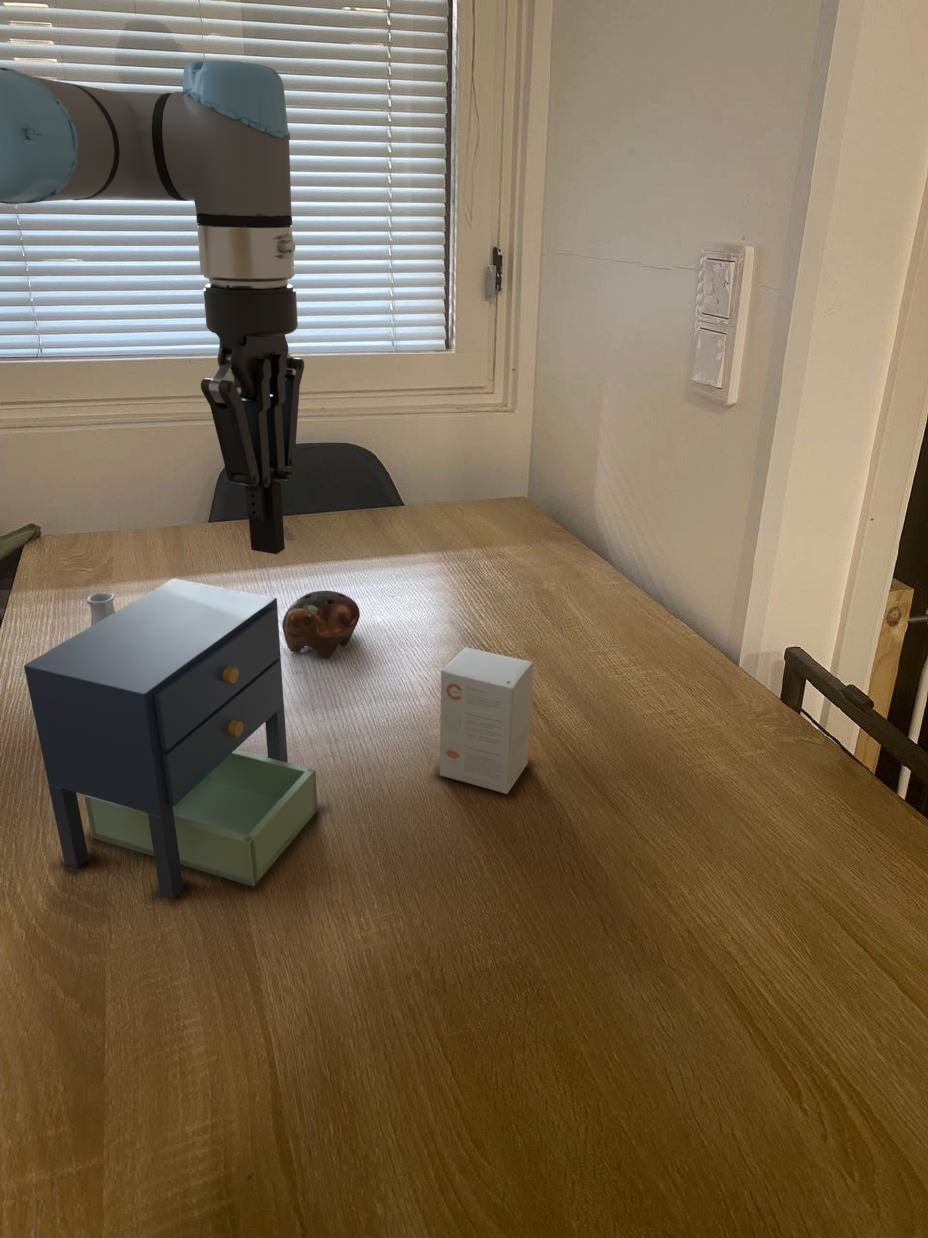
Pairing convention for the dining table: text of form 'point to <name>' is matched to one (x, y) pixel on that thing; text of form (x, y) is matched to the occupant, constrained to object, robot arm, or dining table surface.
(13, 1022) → the dining table surface
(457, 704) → the small box
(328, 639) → the brown ceramic figurine
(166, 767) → the drawer cabinet
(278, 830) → the storage tub
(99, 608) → the flask
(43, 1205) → the dining table surface
